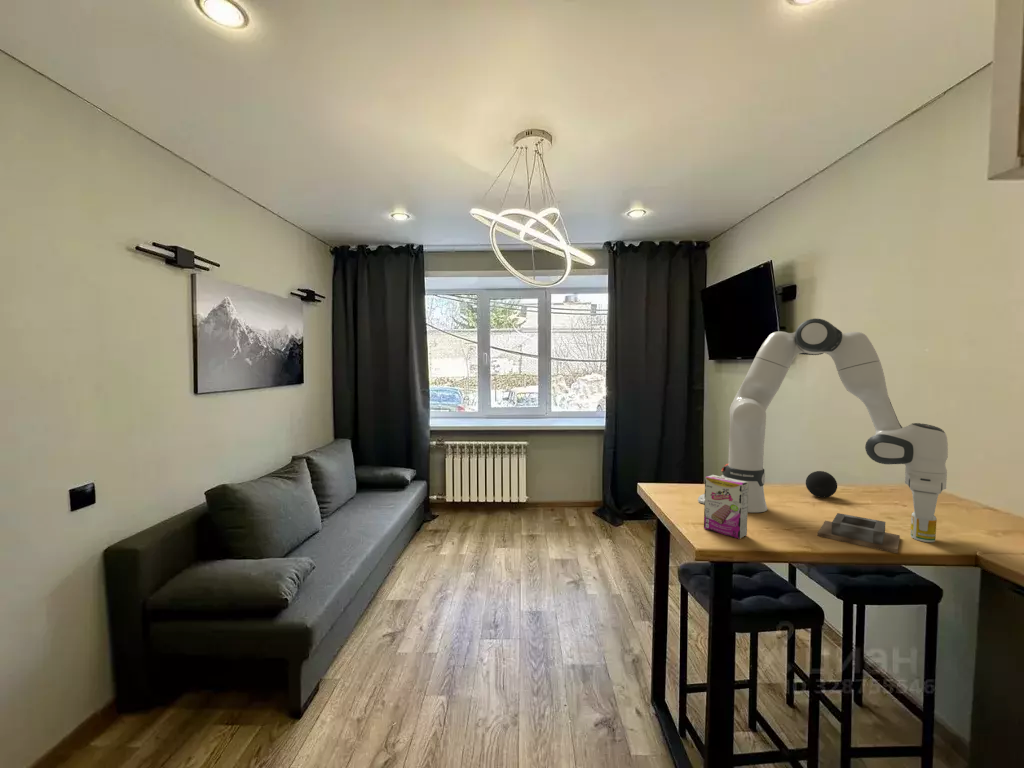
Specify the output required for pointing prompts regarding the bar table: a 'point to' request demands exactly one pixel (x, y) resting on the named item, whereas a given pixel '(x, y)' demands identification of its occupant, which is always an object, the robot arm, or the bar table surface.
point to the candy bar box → (726, 506)
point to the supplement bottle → (923, 535)
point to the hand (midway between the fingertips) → (923, 527)
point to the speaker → (821, 484)
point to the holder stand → (860, 532)
